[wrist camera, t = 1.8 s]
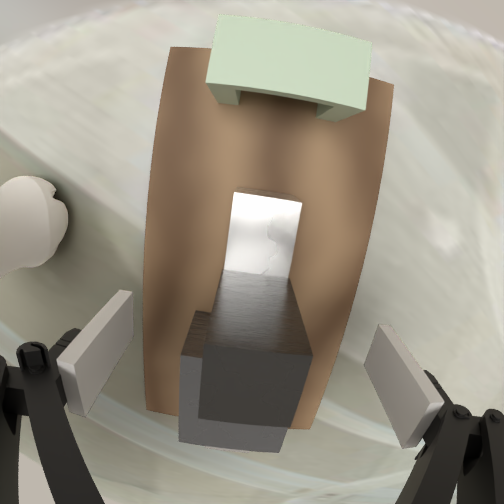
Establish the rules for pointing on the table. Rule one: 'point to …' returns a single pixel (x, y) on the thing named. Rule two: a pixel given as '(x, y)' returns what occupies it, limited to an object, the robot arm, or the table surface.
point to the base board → (261, 178)
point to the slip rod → (256, 319)
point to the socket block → (289, 64)
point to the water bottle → (29, 223)
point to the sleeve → (211, 430)
